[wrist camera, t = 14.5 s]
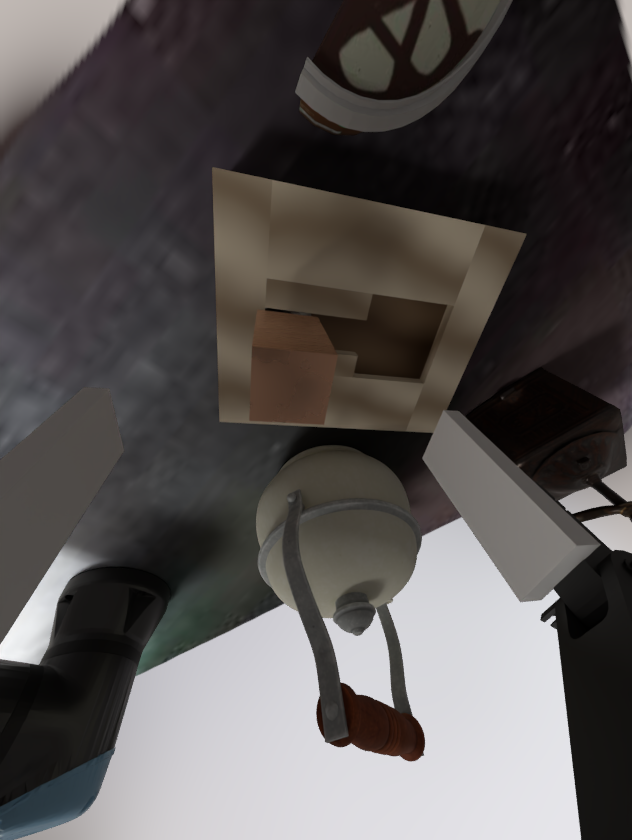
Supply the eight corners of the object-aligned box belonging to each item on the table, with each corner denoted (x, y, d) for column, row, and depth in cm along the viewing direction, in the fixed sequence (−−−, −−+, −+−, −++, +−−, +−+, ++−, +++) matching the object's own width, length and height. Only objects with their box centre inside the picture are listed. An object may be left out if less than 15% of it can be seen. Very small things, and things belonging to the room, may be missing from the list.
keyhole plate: (416, 408, 35) (436, 432, 31) (226, 395, 31) (219, 421, 27) (485, 232, 26) (526, 233, 21) (223, 178, 21) (212, 167, 17)
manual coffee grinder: (542, 360, 34) (757, 466, 19) (560, 418, 39) (737, 535, 24) (424, 435, 38) (526, 571, 23) (456, 478, 43) (554, 611, 28)
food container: (350, 203, 23) (395, 190, 15) (286, 135, 20) (298, 73, 12) (477, 13, 19) (644, -156, 10) (415, -105, 16) (574, -460, 8)
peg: (305, 348, 28) (331, 432, 16) (251, 342, 27) (239, 427, 15) (313, 291, 25) (350, 345, 14) (253, 283, 24) (240, 334, 13)
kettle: (219, 465, 36) (152, 787, 15) (351, 392, 33) (491, 675, 12) (317, 555, 49) (352, 790, 29) (417, 509, 46) (537, 738, 26)
